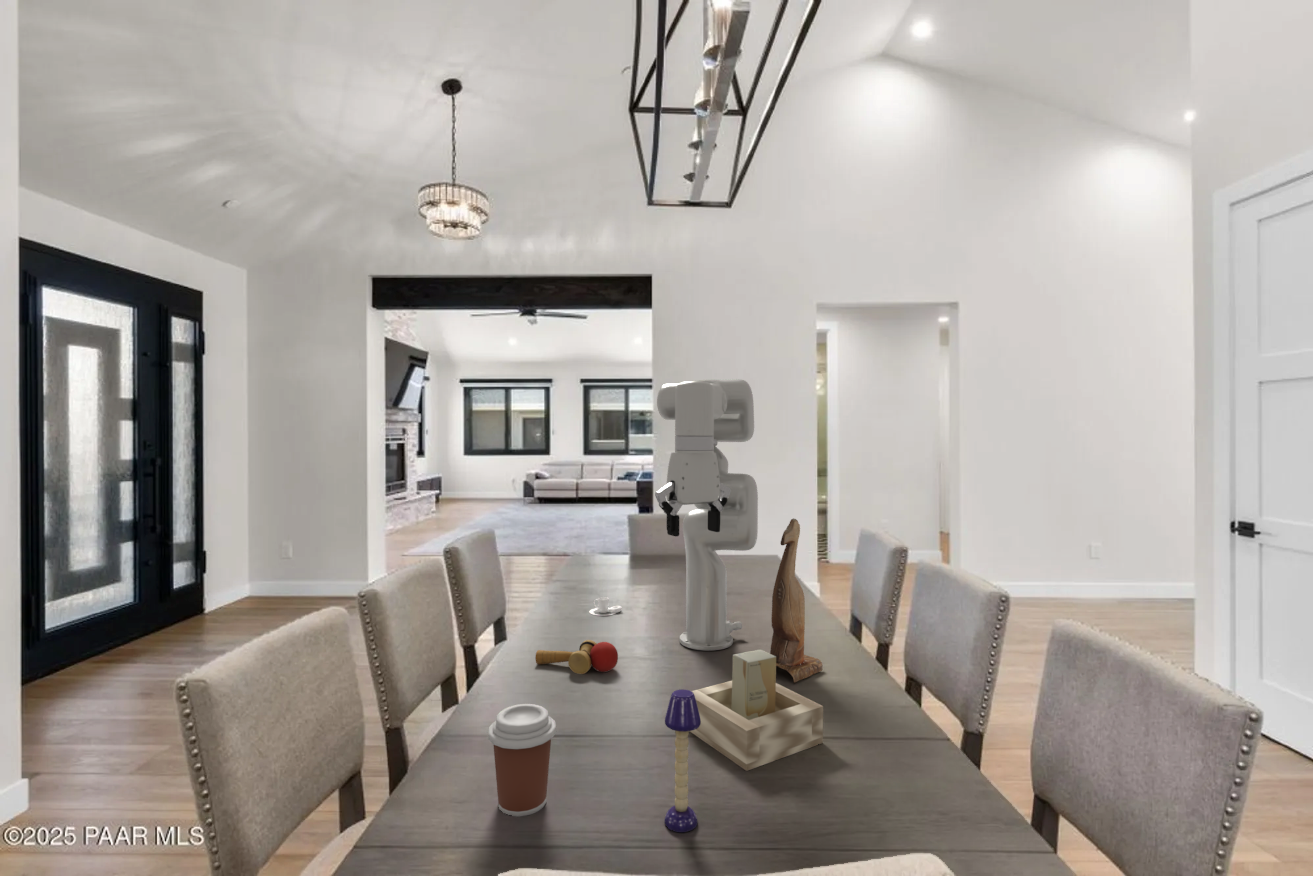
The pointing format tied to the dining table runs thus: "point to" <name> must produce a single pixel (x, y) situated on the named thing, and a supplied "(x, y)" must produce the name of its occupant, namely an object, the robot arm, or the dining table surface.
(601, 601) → the teacup and saucer
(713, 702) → the holder
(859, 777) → the dining table surface
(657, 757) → the dining table surface
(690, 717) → the toy lamp
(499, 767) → the coffee cup
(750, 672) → the skincare box
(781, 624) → the bird sculpture
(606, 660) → the kendama
